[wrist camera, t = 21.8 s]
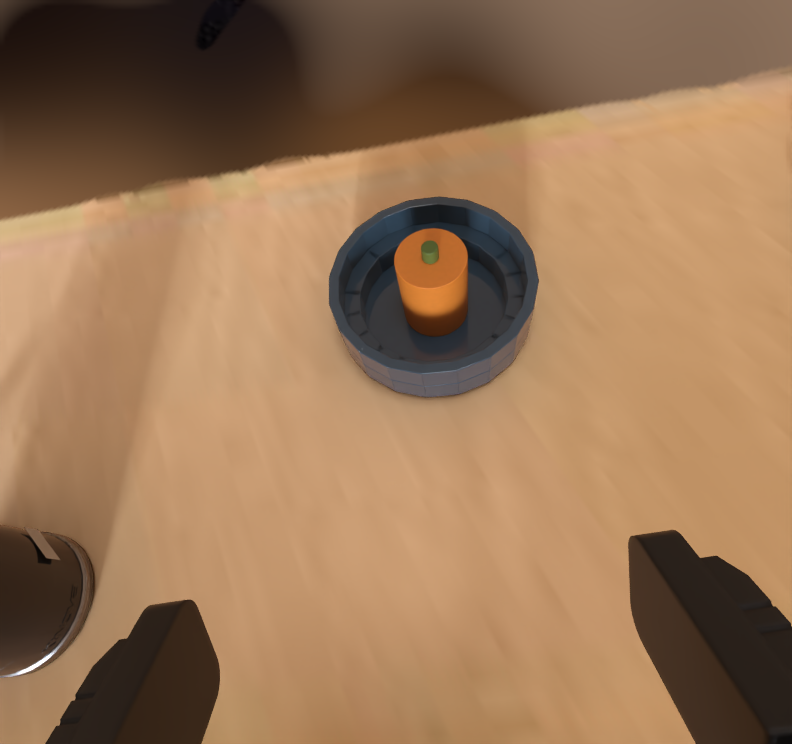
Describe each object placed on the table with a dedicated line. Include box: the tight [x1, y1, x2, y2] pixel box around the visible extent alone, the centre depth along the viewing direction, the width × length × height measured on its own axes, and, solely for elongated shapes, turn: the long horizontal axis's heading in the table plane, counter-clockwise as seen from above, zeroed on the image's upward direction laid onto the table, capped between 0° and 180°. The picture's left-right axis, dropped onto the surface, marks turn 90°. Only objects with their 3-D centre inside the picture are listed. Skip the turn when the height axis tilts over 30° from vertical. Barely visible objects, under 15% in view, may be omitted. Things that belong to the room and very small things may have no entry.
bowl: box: [329, 197, 539, 397], centre depth 42 cm, size 16×16×5 cm
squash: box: [394, 228, 468, 337], centre depth 40 cm, size 5×5×8 cm
